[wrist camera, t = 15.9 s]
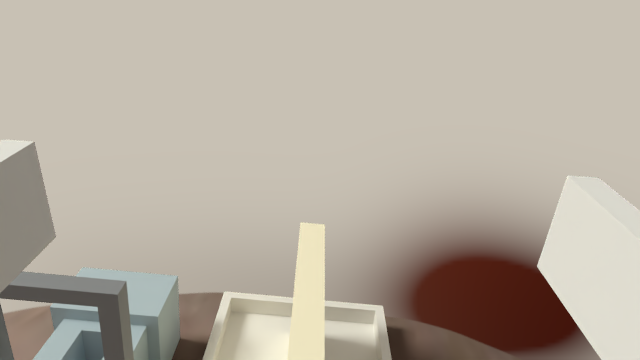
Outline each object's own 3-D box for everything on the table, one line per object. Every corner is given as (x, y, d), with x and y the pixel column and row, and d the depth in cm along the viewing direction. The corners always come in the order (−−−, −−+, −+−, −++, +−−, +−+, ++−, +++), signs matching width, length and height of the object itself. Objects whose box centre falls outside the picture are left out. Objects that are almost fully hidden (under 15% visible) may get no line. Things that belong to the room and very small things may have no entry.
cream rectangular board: (311, 335, 42) (324, 224, 37) (304, 507, 29) (324, 369, 24) (289, 333, 42) (300, 222, 37) (272, 505, 29) (286, 367, 24)
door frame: (184, 338, 41) (180, 198, 35) (135, 463, 31) (117, 294, 25) (87, 330, 41) (66, 187, 35) (4, 453, 31) (-46, 279, 24)
